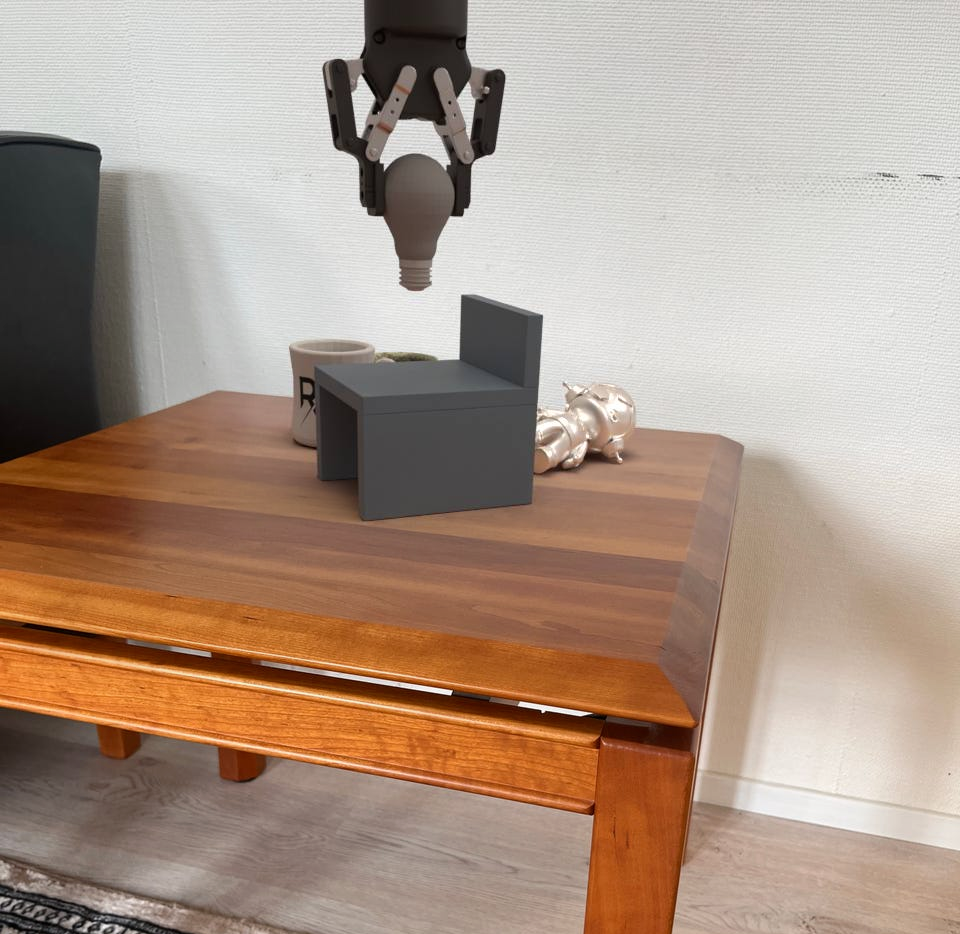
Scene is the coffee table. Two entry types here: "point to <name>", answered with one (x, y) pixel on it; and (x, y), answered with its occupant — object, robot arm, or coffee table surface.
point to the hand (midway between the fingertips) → (415, 215)
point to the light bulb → (416, 214)
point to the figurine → (584, 426)
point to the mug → (304, 380)
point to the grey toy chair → (438, 420)
